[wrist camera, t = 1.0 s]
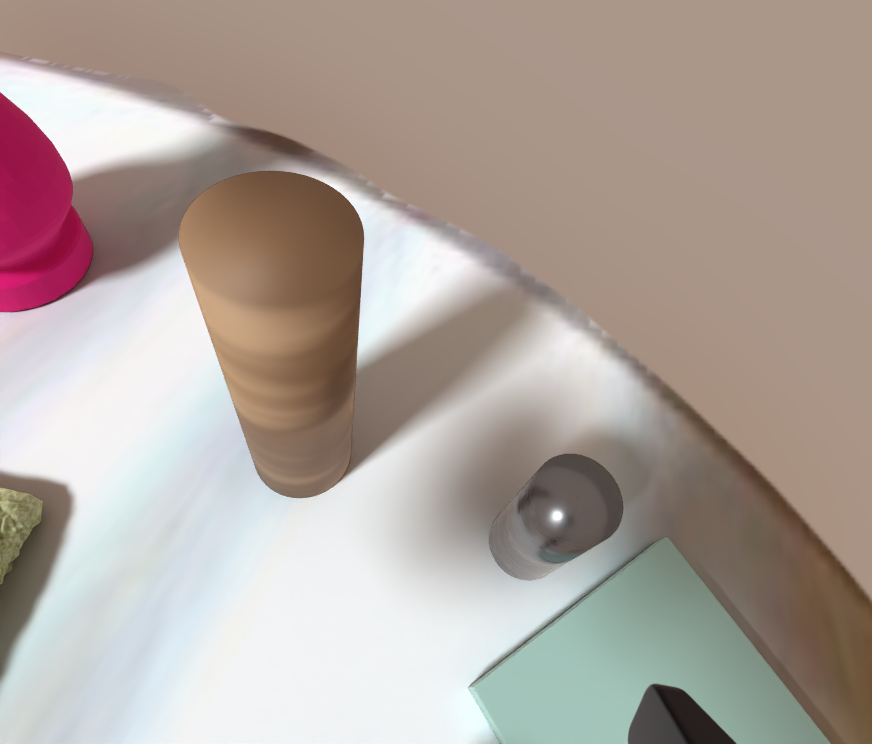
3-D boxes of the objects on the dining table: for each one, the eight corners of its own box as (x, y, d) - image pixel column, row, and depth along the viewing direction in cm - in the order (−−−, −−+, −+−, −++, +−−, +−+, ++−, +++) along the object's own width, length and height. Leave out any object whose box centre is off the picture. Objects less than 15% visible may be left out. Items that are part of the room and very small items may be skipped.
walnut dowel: (279, 516, 22) (223, 332, 11) (238, 435, 24) (150, 199, 12) (368, 468, 24) (396, 264, 13) (323, 394, 25) (314, 153, 14)
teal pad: (656, 1012, 17) (673, 1028, 16) (467, 687, 20) (473, 687, 19) (840, 779, 20) (862, 783, 20) (655, 542, 24) (667, 536, 23)
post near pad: (518, 595, 22) (573, 563, 17) (475, 529, 23) (515, 481, 18) (574, 554, 23) (641, 514, 18) (530, 493, 24) (582, 438, 19)
